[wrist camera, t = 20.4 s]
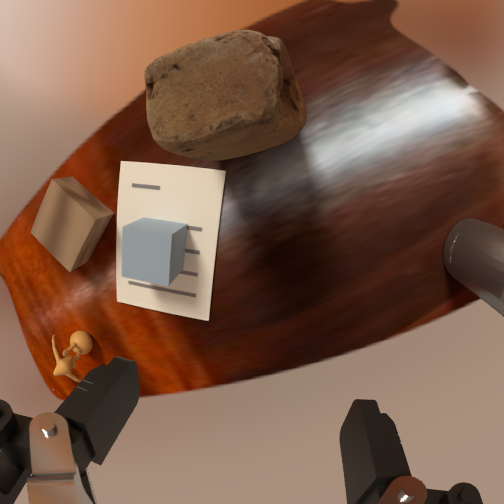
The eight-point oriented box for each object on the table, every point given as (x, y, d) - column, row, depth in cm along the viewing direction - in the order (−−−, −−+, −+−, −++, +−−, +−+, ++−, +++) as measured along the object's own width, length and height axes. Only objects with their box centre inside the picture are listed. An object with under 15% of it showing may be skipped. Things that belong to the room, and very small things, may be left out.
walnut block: (114, 213, 38) (95, 219, 33) (88, 261, 40) (70, 272, 36) (73, 176, 37) (52, 179, 32) (50, 225, 39) (30, 232, 35)
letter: (226, 170, 35) (225, 170, 35) (208, 319, 41) (208, 321, 41) (122, 161, 36) (120, 161, 35) (118, 300, 41) (117, 301, 41)
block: (212, 164, 35) (145, 165, 16) (199, 107, 33) (123, 54, 14) (301, 144, 34) (334, 118, 15) (287, 86, 32) (299, 5, 13)
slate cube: (187, 223, 37) (171, 234, 31) (183, 269, 39) (168, 286, 33) (143, 217, 37) (122, 226, 32) (141, 261, 39) (121, 276, 33)
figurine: (67, 319, 44) (25, 355, 32) (87, 308, 42) (44, 346, 31) (93, 359, 45) (59, 400, 34) (115, 350, 44) (81, 395, 33)
